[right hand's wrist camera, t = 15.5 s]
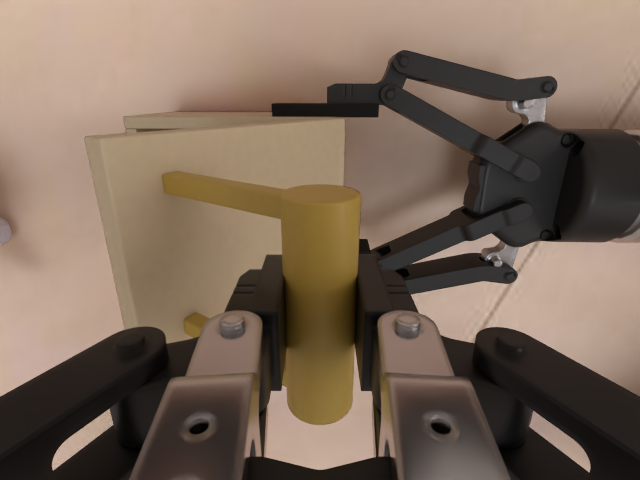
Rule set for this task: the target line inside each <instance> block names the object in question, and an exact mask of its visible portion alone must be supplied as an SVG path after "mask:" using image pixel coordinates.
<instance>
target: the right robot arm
mask: <svg viewBox="0 0 640 480" xmlns="http://www.w3.org/2000/svg"><path fill="white" fill-rule="evenodd" d="M286 350H287V333H286V306H285V278H284V276H283V267H282V254H267V255H266V258H265V260H264V263H263V266H262V269H249V270H248V271H247V272H245V273H244V274H243V275H241V276H240V277H239V280H238V282H237V284H236V287H235V289H234V291H233V294H232V295H231V298H230V300H229V302H228V304H227V307H226V309H225V311H224V313H220V314H218V315H215V316H213V317H212V318H210V319H209V320H208V321H207V322H206V323H205V324H204V325H203V327H202V330H201V333H200V336H199V337H196V338H192V339H188V340H183V341H178V342H173V343H168V344H167V342H166V336H165V334H164V332H163V331H162V330H160V329H158V328H155V327H146V326H144V327H134V328H130V329H126V330H123V331H120V332H118V333H116V334H113V335H111V336H110V337H108V338H106V339H104V340H102V341H101V342H99V343H97V344H95V345H93V346H92V347H90V348H88V349H86V350H84V351H82V352H81V353H79V354H77V355H75V356H73V357H72V358H70V359H68V360H66V361H64V362H62V363H61V364H59V365H57V366H55V367H53V368H52V369H50V370H48V371H46V372H44V373H43V374H41V375H39V376H37V377H35V378H33V379H32V380H30V381H28V382H26V383H24V384H23V385H21V386H19V387H17V388H15V389H14V390H12V391H10V392H8V393H6V394H4V395H3V396H1V397H0V480H640V397H639V396H637V395H636V394H634V393H632V392H630V391H628V390H627V389H625V388H623V387H621V386H619V385H617V384H616V383H614V382H612V381H610V380H608V379H607V378H605V377H603V376H601V375H599V374H597V373H596V372H594V371H592V370H590V369H588V368H587V367H585V366H583V365H581V364H579V363H578V362H576V361H574V360H572V359H570V358H568V357H567V356H565V355H563V354H561V353H559V352H558V351H556V350H554V349H552V348H550V347H548V346H547V345H545V344H543V343H541V342H539V341H538V340H536V339H534V338H532V337H530V336H528V335H526V334H524V333H522V332H519V331H516V330H513V329H508V328H501V327H491V328H486V329H483V330H481V331H480V332H478V333H477V335H476V340H475V344H474V343H469V342H464V341H459V340H454V339H450V338H447V337H444V336H441V335H440V333H439V330H438V328H437V326H436V324H435V323H434V322H433V321H432V320H431V319H430V318H428V317H427V316H424V315H422V314H420V313H419V312H418V310H417V308H416V306H415V304H414V301H413V299H412V297H411V295H410V294H409V291H408V288H407V287H406V284H405V282H404V280H403V277H402V276H401V275H399V274H398V273H397V272H395V271H394V270H392V269H380V266H379V263H378V260H377V258H376V255H359V256H358V274H357V294H356V320H355V350H356V357H357V364H358V371H359V379H360V386H361V391H372V395H373V406H372V426H373V446H374V458H370V459H366V460H362V461H358V462H354V463H350V464H346V465H342V466H338V467H334V468H330V469H325V470H315V469H310V468H306V467H302V466H298V465H294V464H290V463H286V462H282V461H278V460H274V459H270V458H266V445H267V425H268V407H267V405H268V403H269V399H270V393H271V391H281V389H282V381H283V373H284V366H285V358H286ZM109 408H110V412H111V416H112V420H113V424H114V425H113V426H111V427H110V428H109V429H108V430H106V431H105V432H104V433H102V434H101V435H100V436H98V437H97V438H96V439H94V440H93V441H92V442H90V443H89V444H88V445H87V446H85V447H84V448H83V449H81V450H80V451H79V452H77V453H76V454H75V455H73V456H72V457H71V458H69V459H68V460H67V461H66V462H64V463H63V464H62V465H60V466H59V467H58V468H56V469H55V470H54V471H53V470H52V460H53V457H54V455H55V453H56V451H57V449H58V448H59V447H60V446H61V444H62V443H63V442H64V441H65V440H66V439H68V438H69V437H70V436H72V435H73V434H74V433H76V432H77V431H79V430H80V429H81V428H83V427H84V426H86V425H87V424H88V423H90V422H91V421H93V420H94V419H95V418H97V417H98V416H100V415H101V414H102V413H104V412H105V411H107V410H108V409H109ZM533 411H535V412H536V413H538V414H539V415H540V416H542V417H543V418H545V419H546V420H547V421H549V422H550V423H552V424H553V425H554V426H556V427H557V428H559V429H560V430H561V431H563V432H564V433H566V434H567V435H568V436H570V437H571V438H572V439H574V440H575V441H576V442H577V443H578V444H579V445H580V446H581V447H582V448H583V449H584V451H585V452H586V454H587V456H588V458H589V460H590V464H591V470H590V473H589V472H588V471H586V470H585V469H584V468H582V467H581V466H580V465H578V464H577V463H576V462H574V461H573V460H572V459H571V458H569V457H568V456H567V455H565V454H564V453H563V452H561V451H560V450H559V449H557V448H556V447H555V446H553V445H552V444H551V443H550V442H548V441H547V440H546V439H544V438H543V437H542V436H540V435H539V434H538V433H536V432H535V431H534V430H533V429H531V428H530V427H529V425H530V421H531V417H532V413H533Z"/></svg>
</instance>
